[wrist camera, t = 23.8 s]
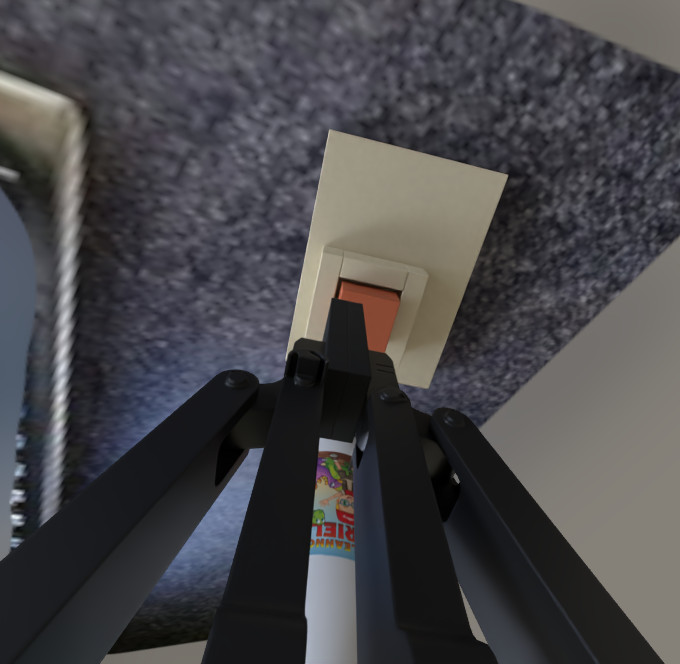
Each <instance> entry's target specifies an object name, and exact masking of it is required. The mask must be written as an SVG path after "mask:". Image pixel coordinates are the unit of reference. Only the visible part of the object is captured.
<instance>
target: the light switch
mask: <svg viewBox="0 0 680 664" xmlns="http://www.w3.org/2000/svg"><path fill="white" fill-rule="evenodd" d="M507 178H508V175H507V174H503V173H499V172H495V171H491V170H487V169H483V168H479V167H475V166H472V165H468V164H464V163H460V162H456V161H452V160H448V159H444V158H440V157H436V156H432V155H429V154H425V153H421V152H417V151H413V150H409V149H405V148H401V147H397V146H393V145H389V144H386V143H382V142H378V141H374V140H370V139H366V138H362V137H358V136H354V135H350V134H346V133H343V132H339V131H335V130H331V129H330V130H329V134H328V139H327V144H326V150H325V155H324V160H323V165H322V171H321V176H320V181H319V186H318V192H317V197H316V202H315V207H314V213H313V218H312V223H311V229H310V234H309V239H308V244H307V250H306V255H305V260H304V265H303V271H302V276H301V281H300V286H299V292H298V297H297V302H296V307H295V313H294V318H293V323H292V328H291V334H290V339H289V344H288V349H287V355H286V361H287V356H288V353H289V352H290V351H291V350H293V347H294V343H295V342H296V341H297V340H298V339H300V338H301V337H302V338H307V339H312V340H317V341H322V340H323V335H324V331H325V326H326V322H327V317H328V312H329V308H330V303H331V299H332V298H336V299H338V297H339V293H340V289H341V285H342V281H347V282H351V283H356V284H360V285H365V286H369V287H374V288H378V289H383V290H387V291H392V292H396V294H397V296H398V298H399V301H400V305H399V308H398V312H397V315H396V318H395V321H394V325H393V328H392V331H391V334H390V338H389V341H388V344H387V347H386V351H385V353H386V354H387V355H388V356H389V357H390V358H391V359H392V360H393V364H394V369H395V372H396V377H397V381H398V383H400V384H405V385H410V386H415V387H420V388H425V389H428V388H429V386H430V383H431V380H432V378H433V375H434V372H435V370H436V367H437V364H438V362H439V359H440V356H441V354H442V351H443V348H444V346H445V343H446V340H447V338H448V335H449V332H450V330H451V327H452V324H453V322H454V319H455V316H456V314H457V311H458V308H459V306H460V303H461V300H462V298H463V295H464V292H465V290H466V287H467V284H468V282H469V279H470V276H471V274H472V271H473V268H474V266H475V263H476V260H477V258H478V255H479V252H480V250H481V247H482V244H483V242H484V239H485V236H486V234H487V231H488V228H489V226H490V223H491V220H492V218H493V215H494V212H495V210H496V207H497V204H498V202H499V199H500V196H501V194H502V191H503V188H504V186H505V183H506V181H507Z"/></svg>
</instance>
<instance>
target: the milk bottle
mask: <svg viewBox="0 0 680 664" xmlns="http://www.w3.org/2000/svg"><path fill="white" fill-rule="evenodd" d="M355 443H356V437H354V440H353V443H347V442H341V441H336V440H330V439H324V438H320V440H319V452H318V464H317V475H316V487H315V498H314V510H313V522H312V533H311V545H310V556H309V568H308V580H307V591H306V603H305V616H306V618H307V625H308V631H307V648H306V661H305V664H357V632H356V587H355V542H354V498H353V467H352V469H351V472H350V471H348V467H349V464H350V460H351V457H352V453H353V450H354V447H355Z"/></svg>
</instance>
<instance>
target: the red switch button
mask: <svg viewBox="0 0 680 664" xmlns="http://www.w3.org/2000/svg"><path fill="white" fill-rule="evenodd" d="M338 299H341V300H346V301H351V302H356V303H361V304H363V310H364V318H365V326H366V334H367V342H368V350H372V351H377V352H383V353H385V351H386V347H387V344H388V341H389V338H390V334H391V331H392V328H393V325H394V321H395V318H396V315H397V312H398V308H399V305H400V301H399V298H398V296H397V294H396V292H392V291H387V290H383V289H378V288H374V287H369V286H365V285H360V284H356V283H351V282H347V281H342V285H341V289H340V293H339V297H338Z"/></svg>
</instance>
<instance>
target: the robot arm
mask: <svg viewBox="0 0 680 664" xmlns="http://www.w3.org/2000/svg"><path fill="white" fill-rule="evenodd" d="M355 433H356V443H355V447H354V450H353V453H352V457H351V460H350V464H349V467H348V471H350V472H351V469H352V467H353V498H354V542H355V587H356V632H357V664H664V662H663V661H662V660H661V659H660V657H659V656H658V655H657V654H656V652H655V651H654V650H653V649H652V647H651V646H650V645H649V643H648V642H647V641H646V640H645V638H644V637H643V636H642V635H641V634H640V632H639V631H638V630H637V628H636V627H635V626H634V625H633V623H632V622H631V621H630V620H629V618H628V617H627V616H626V614H625V613H624V612H623V611H622V609H621V608H620V607H619V606H618V604H617V603H616V602H615V601H614V600H613V598H612V597H611V596H610V594H609V593H608V592H607V591H606V589H605V588H604V587H603V586H602V584H601V583H600V582H599V581H598V579H597V578H596V577H595V575H594V574H593V573H592V572H591V570H590V569H589V568H588V567H587V565H586V564H585V563H584V562H583V560H582V559H581V558H580V557H579V556H578V554H577V553H576V552H575V550H574V549H573V548H572V547H571V545H570V544H569V543H568V542H567V540H566V539H565V538H564V537H563V535H562V534H561V533H560V531H559V530H558V529H557V528H556V526H555V525H554V524H553V523H552V522H551V520H550V519H549V518H548V517H547V515H546V514H545V513H544V511H543V510H542V509H541V508H540V506H539V505H538V504H537V503H536V501H535V500H534V499H533V498H532V496H531V495H530V494H529V492H528V491H527V490H526V489H525V488H524V486H523V485H522V484H521V482H520V481H519V480H518V479H517V477H516V476H515V475H514V474H513V472H512V471H511V470H510V469H509V467H508V466H507V465H506V464H505V462H504V461H503V460H502V459H501V457H500V456H499V455H498V454H497V452H496V451H495V450H494V448H493V447H492V446H491V445H490V443H489V442H488V441H487V440H486V439H485V437H484V436H483V435H482V434H481V432H480V431H479V430H478V428H477V427H476V426H475V425H474V423H473V422H472V421H471V420H470V419H469V418H468V417H467V416H466V415H464V414H462V413H461V412H460V411H457V410H455V409H451V408H445V407H443V408H437V409H436V410H434V412H433V415H432V416H430V415H428V414H425V413H423V412H420V411H418V410H416V409H414V408H412V407H411V403H410V400H409V398H408V396H407V395H406V394H405V393H404V392H403V391H401V390H400V389H399V385H398V381H397V377H396V372H395V369H394V364H393V360H392V359H391V358H390V357H389V356H388V355H387V354H386V353H383V352H377V351H372V350H368V342H367V334H366V326H365V318H364V310H363V304H361V303H356V302H351V301H346V300H341V299H336V298H332V299H331V303H330V308H329V312H328V317H327V322H326V326H325V331H324V335H323V340H322V341H317V340H312V339H307V338H302V337H301V338H300V339H298V340H297V341H296V342H295V343H294V347H293V350H291V351H290V352H289V353H288V356H287V362H286V367H285V373H284V378H283V379H282V380H280V381H277V382H274V383H267V384H259V380H258V378H257V377H256V376H255V375H254V374H252V373H250V372H247V371H243V370H227V371H223V372H221V373H219V374H218V375H216V376H215V377H214V378H213V379H212V380H210V381H209V382H208V383H207V384H206V385H205V386H204V387H202V388H201V389H200V390H199V391H198V392H197V393H195V394H194V395H193V396H192V397H191V398H190V399H188V400H187V401H186V402H185V403H184V404H183V405H181V406H180V407H179V408H178V409H177V410H176V411H174V412H173V413H172V414H171V415H170V416H169V417H168V418H166V419H165V420H164V421H163V422H162V423H161V424H159V425H158V426H157V427H156V428H155V429H154V430H152V431H151V432H150V433H149V434H148V435H147V436H145V437H144V438H143V439H142V440H141V441H140V442H138V443H137V444H136V445H135V446H134V447H133V448H131V449H130V450H129V451H128V452H127V453H126V454H125V455H123V456H122V457H121V458H120V459H119V460H118V461H116V462H115V463H114V464H113V465H112V466H111V467H109V468H108V469H107V470H106V471H105V472H104V473H102V474H101V475H100V476H99V477H98V478H97V479H95V480H94V481H93V482H92V483H91V484H90V485H89V486H87V487H86V488H85V489H84V490H83V491H82V492H80V493H79V494H78V495H77V496H76V497H75V498H73V499H72V500H71V501H70V502H69V503H68V504H66V505H65V506H64V507H63V508H62V509H61V510H59V511H58V512H57V513H56V514H55V515H54V516H53V517H51V518H50V519H49V520H48V521H47V522H46V523H44V524H43V525H42V526H41V527H40V528H39V529H37V530H36V531H35V532H34V533H33V534H32V535H30V536H29V537H28V538H27V539H26V540H25V541H23V542H22V543H21V544H20V545H19V546H18V547H17V548H15V549H14V550H13V551H12V552H11V553H10V554H8V555H7V556H6V557H5V558H4V559H3V560H1V561H0V664H100V663H101V661H102V660H103V659H104V657H105V656H106V654H107V653H108V652H109V650H110V649H111V647H112V646H113V644H114V643H115V642H116V640H117V639H118V637H119V636H120V635H121V633H122V632H123V630H124V629H125V627H126V626H127V625H128V623H129V622H130V620H131V619H132V618H133V616H134V615H135V613H136V612H137V611H138V609H139V608H140V606H141V605H142V603H143V602H144V601H145V599H146V598H147V596H148V595H149V594H150V592H151V591H152V589H153V588H154V587H155V585H156V584H157V582H158V581H159V579H160V578H161V577H162V575H163V574H164V572H165V571H166V570H167V568H168V567H169V565H170V564H171V563H172V561H173V560H174V558H175V557H176V555H177V554H178V553H179V551H180V550H181V548H182V547H183V546H184V544H185V543H186V541H187V540H188V538H189V537H190V536H191V534H192V533H193V531H194V530H195V529H196V527H197V526H198V524H199V523H200V522H201V520H202V519H203V517H204V516H205V514H206V513H207V512H208V510H209V509H210V507H211V506H212V505H213V503H214V502H215V500H216V499H217V498H218V496H219V495H220V493H221V492H222V490H223V489H224V488H225V486H226V485H227V483H228V482H229V481H230V479H231V478H232V476H233V475H234V473H235V472H236V471H237V469H238V468H239V466H240V465H241V464H242V462H243V461H244V459H245V458H246V457H247V455H248V453H249V450H250V449H254V448H264V450H263V454H262V458H261V461H260V465H259V468H258V472H257V476H256V479H255V483H254V487H253V490H252V494H251V497H250V501H249V505H248V508H247V512H246V516H245V519H244V523H243V526H242V530H241V534H240V537H239V541H238V545H237V548H236V552H235V555H234V559H233V563H232V566H231V570H230V574H229V577H228V581H227V584H226V588H225V592H224V595H223V599H222V602H221V604H220V605H219V607H218V609H217V611H216V614H215V617H214V620H213V624H212V627H211V630H210V634H209V637H208V641H207V645H206V648H205V652H204V655H203V659H202V663H201V664H305V661H306V648H307V631H308V625H307V618H306V616H305V603H306V591H307V580H308V568H309V556H310V545H311V533H312V522H313V510H314V498H315V487H316V475H317V464H318V452H319V440H320V438H324V439H330V440H336V441H341V442H347V443H353V440H354V436H355ZM455 473H456V475H457V476H458V478H459V481H460V483H459V484H458V483H457V482H456V481H455V479H454V478H453V476H454V474H455ZM458 582H459V583H458ZM459 584H460V586H461V588H462V590H463V593H464V595H465V597H466V599H467V601H468V603H469V605H470V607H471V609H472V611H473V614H474V615H475V618H476V620H477V622H478V624H479V626H480V628H481V630H482V632H483V634H484V636H485V639H486V641H487V643H488V644H485V643H483V642H481V641H478V640H476V638H475V637H474V635H473V633H472V631H471V628H470V625H469V621H468V617H467V614H466V610H465V606H464V602H463V598H462V595H461V591H460V587H459ZM488 645H489V646H488Z"/></svg>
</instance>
